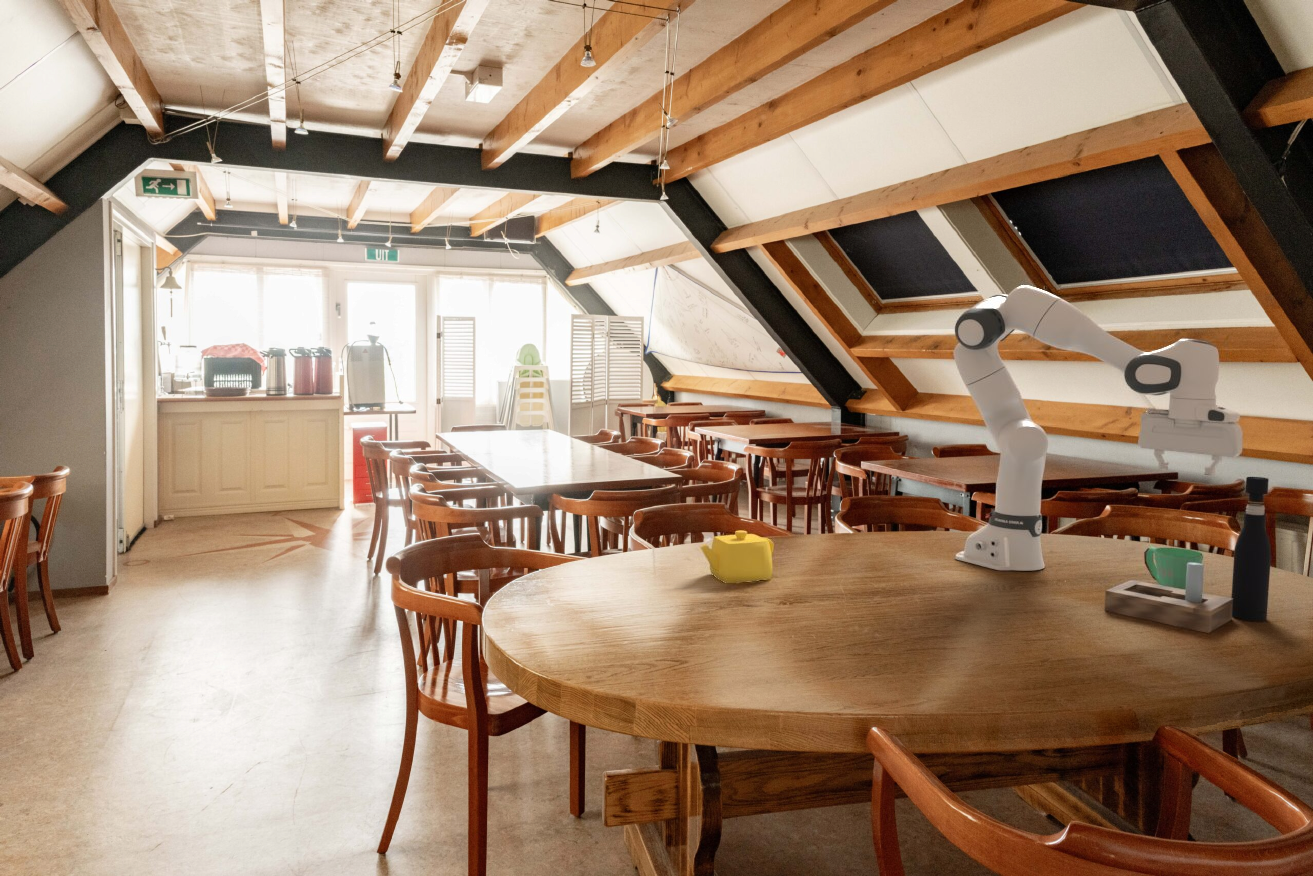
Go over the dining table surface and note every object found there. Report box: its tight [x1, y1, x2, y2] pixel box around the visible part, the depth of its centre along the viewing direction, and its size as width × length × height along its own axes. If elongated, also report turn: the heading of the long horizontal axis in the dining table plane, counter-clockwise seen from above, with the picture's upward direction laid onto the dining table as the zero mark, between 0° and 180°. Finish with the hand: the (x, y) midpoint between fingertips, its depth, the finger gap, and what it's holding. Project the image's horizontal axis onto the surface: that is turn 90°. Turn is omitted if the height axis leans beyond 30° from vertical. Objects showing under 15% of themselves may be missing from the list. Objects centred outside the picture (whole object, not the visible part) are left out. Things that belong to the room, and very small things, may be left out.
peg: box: [1185, 563, 1205, 604], centre depth 179 cm, size 6×6×12 cm
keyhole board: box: [1104, 579, 1233, 634], centre depth 182 cm, size 20×14×4 cm
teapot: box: [699, 530, 775, 584], centre depth 214 cm, size 20×12×12 cm, turn 109°
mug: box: [1143, 546, 1204, 590], centre depth 201 cm, size 15×10×10 cm
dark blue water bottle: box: [1230, 476, 1272, 623], centre depth 180 cm, size 6×6×30 cm
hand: (1185, 472), depth 192 cm, fingers open, 8 cm apart
